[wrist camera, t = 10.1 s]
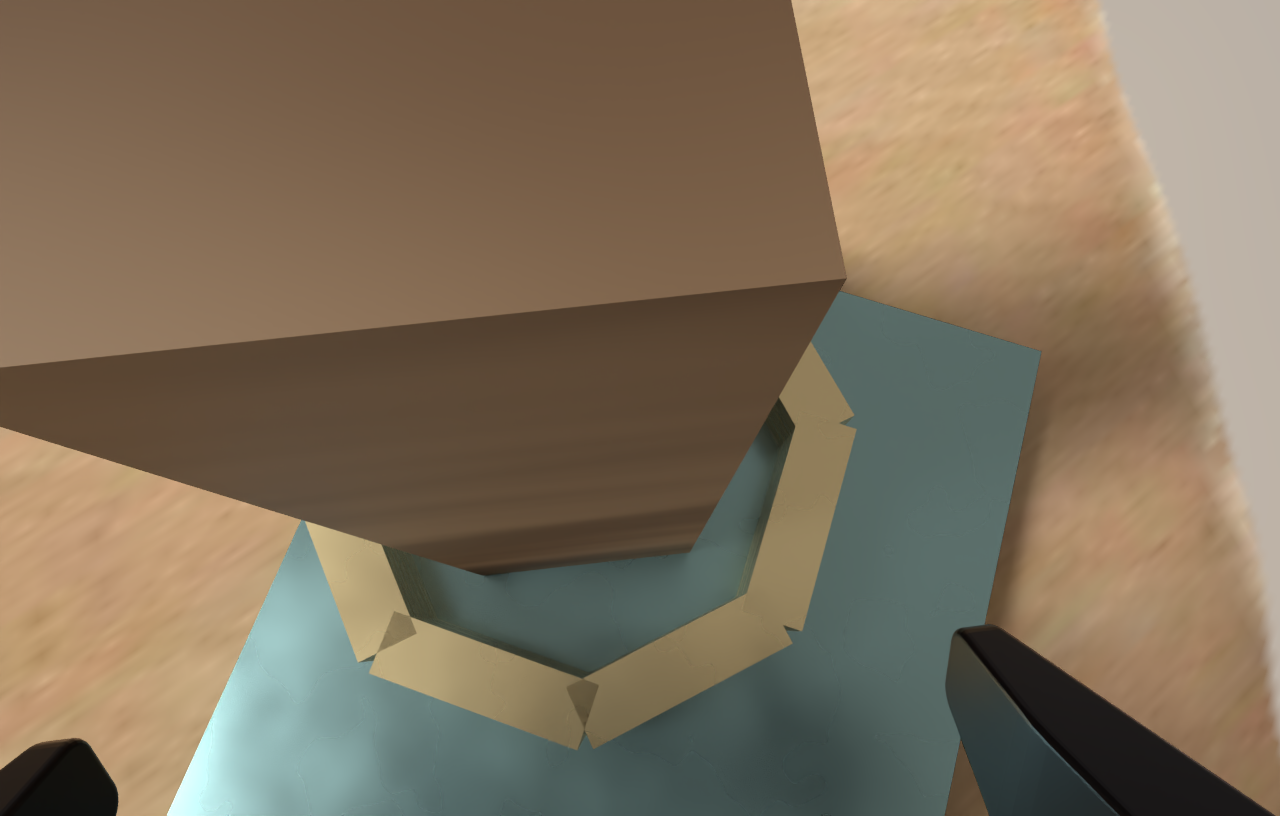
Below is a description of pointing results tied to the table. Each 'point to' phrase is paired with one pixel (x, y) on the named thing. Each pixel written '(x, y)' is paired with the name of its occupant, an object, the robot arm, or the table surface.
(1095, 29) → the table surface
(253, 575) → the table surface
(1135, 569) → the table surface
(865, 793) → the socket plate
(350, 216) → the peg
